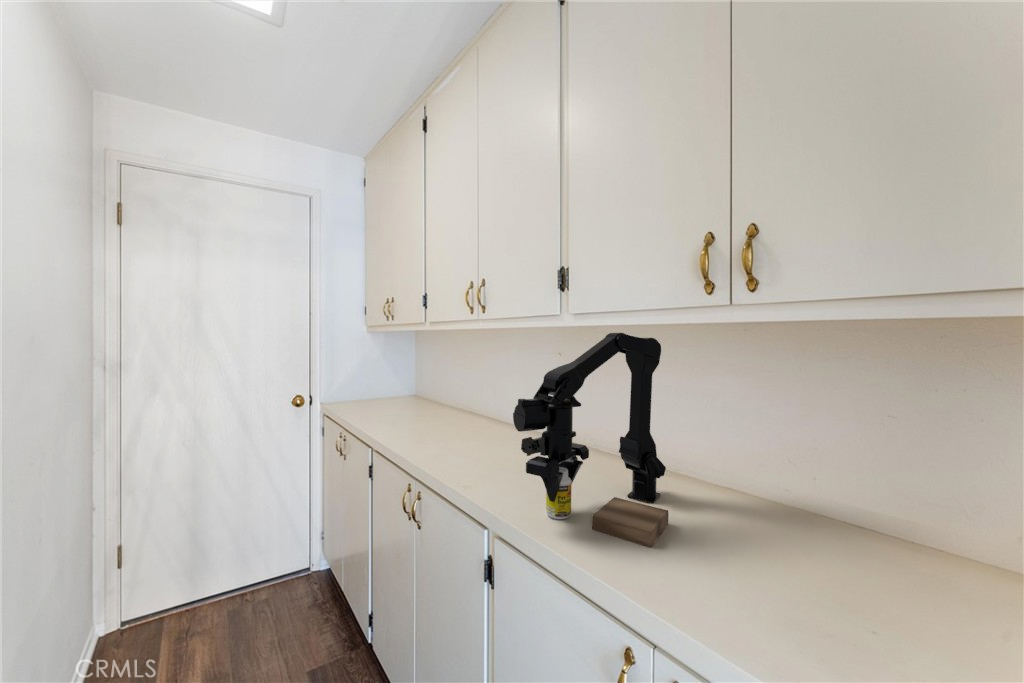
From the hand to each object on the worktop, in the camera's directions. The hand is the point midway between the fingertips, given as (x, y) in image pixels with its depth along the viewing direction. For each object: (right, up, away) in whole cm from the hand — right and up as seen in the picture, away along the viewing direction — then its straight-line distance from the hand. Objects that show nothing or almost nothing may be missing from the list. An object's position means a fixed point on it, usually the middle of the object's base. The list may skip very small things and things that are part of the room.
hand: (558, 496), depth 91 cm
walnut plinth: (+14, -4, -6) cm, 16 cm away
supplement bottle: (0, -4, 0) cm, 4 cm away
